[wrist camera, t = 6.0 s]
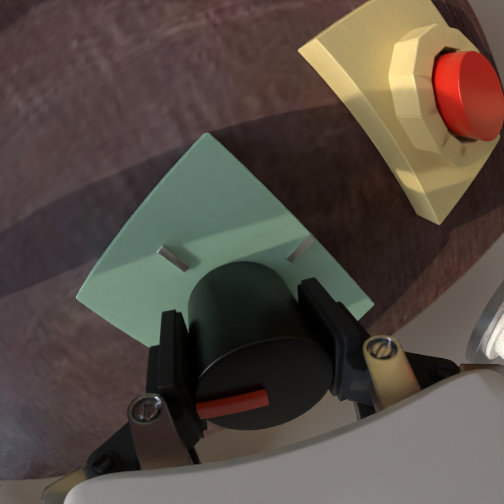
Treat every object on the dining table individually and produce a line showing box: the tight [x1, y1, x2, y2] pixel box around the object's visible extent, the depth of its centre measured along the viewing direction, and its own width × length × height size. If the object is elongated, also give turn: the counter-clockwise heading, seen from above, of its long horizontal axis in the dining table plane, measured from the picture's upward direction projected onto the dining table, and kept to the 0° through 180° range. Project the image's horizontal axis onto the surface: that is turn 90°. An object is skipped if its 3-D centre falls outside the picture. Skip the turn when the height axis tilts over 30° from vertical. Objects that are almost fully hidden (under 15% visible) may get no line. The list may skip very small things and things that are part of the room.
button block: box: [298, 0, 500, 225], centre depth 11 cm, size 12×9×4 cm
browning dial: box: [188, 261, 334, 430], centre depth 10 cm, size 5×5×5 cm
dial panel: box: [76, 133, 374, 348], centre depth 14 cm, size 12×9×3 cm
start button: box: [431, 51, 504, 141], centre depth 9 cm, size 4×4×2 cm
